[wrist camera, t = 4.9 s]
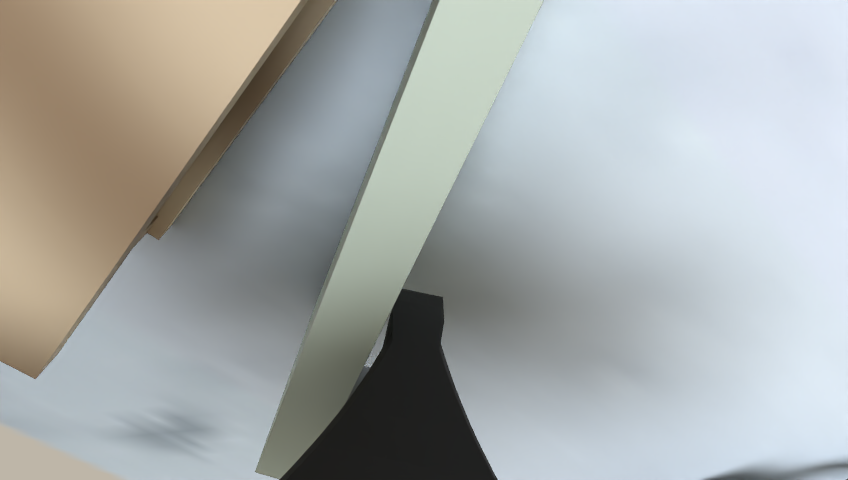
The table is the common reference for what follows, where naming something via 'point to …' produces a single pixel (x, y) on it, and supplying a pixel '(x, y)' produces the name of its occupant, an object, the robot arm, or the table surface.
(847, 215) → the table surface
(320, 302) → the door
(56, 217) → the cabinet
